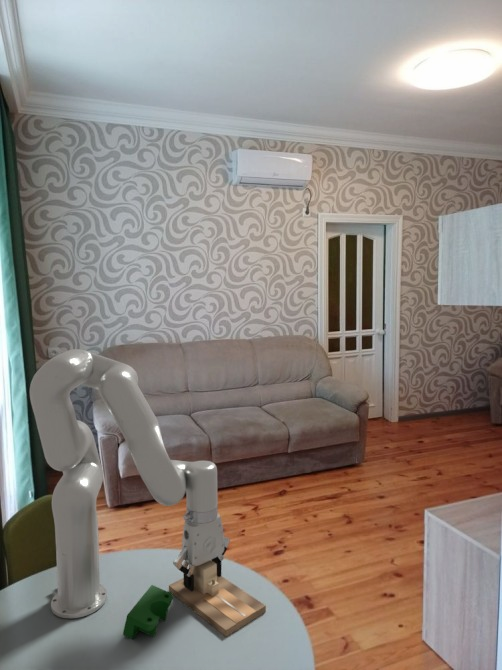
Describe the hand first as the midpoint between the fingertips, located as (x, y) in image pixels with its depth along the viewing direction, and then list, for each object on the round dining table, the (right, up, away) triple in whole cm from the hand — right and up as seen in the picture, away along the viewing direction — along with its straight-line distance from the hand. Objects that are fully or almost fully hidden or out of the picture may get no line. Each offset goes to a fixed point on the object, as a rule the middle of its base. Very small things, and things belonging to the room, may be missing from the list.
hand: (203, 581), depth 119 cm
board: (+3, -3, -3) cm, 6 cm away
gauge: (0, -1, 0) cm, 1 cm away
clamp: (-11, -4, -12) cm, 17 cm away
